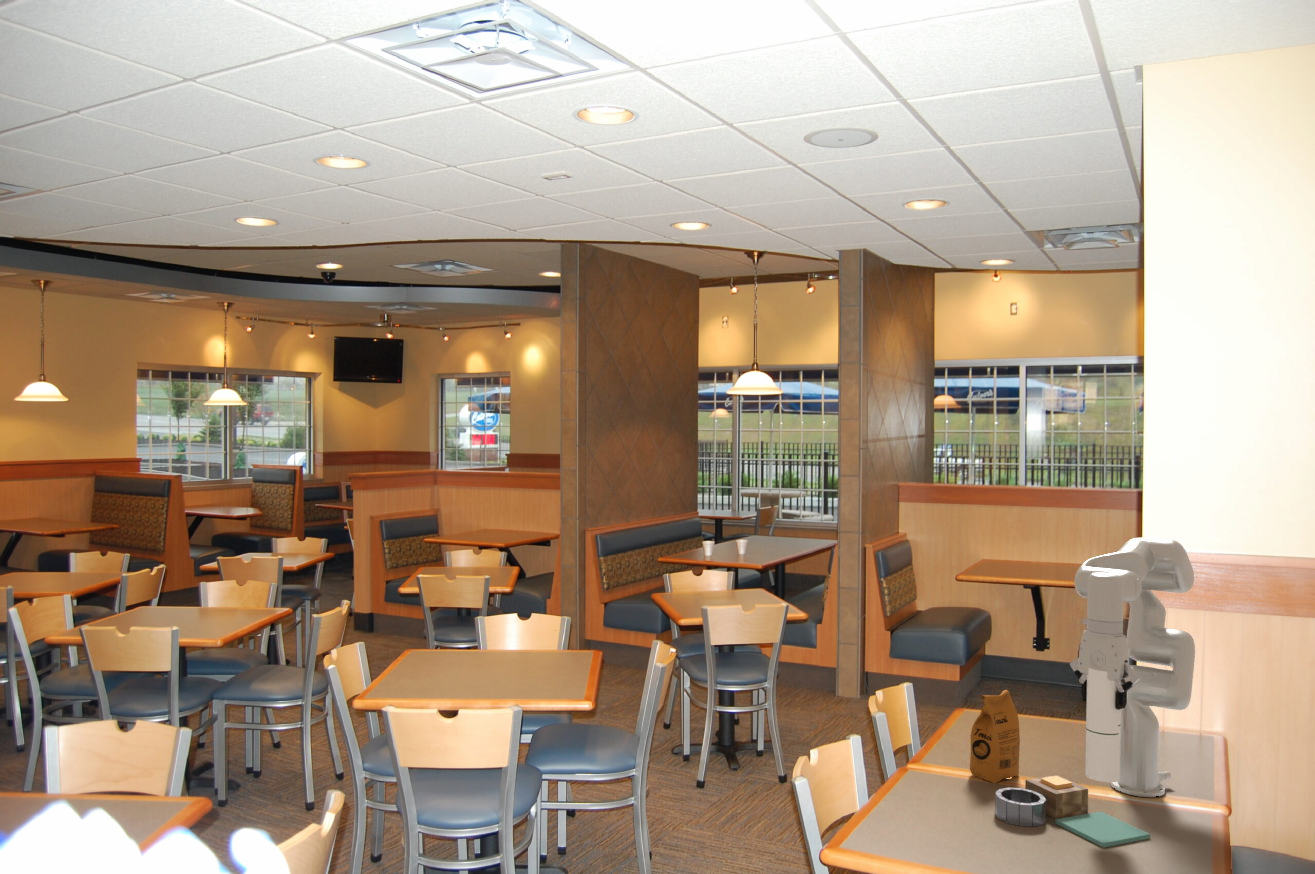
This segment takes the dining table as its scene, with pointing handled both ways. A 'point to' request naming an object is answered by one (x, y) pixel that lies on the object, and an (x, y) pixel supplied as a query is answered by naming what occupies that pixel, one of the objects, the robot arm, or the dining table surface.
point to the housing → (1061, 798)
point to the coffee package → (995, 739)
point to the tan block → (1056, 782)
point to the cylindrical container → (1102, 728)
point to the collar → (1020, 807)
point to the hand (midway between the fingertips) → (1103, 703)
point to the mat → (1102, 829)
